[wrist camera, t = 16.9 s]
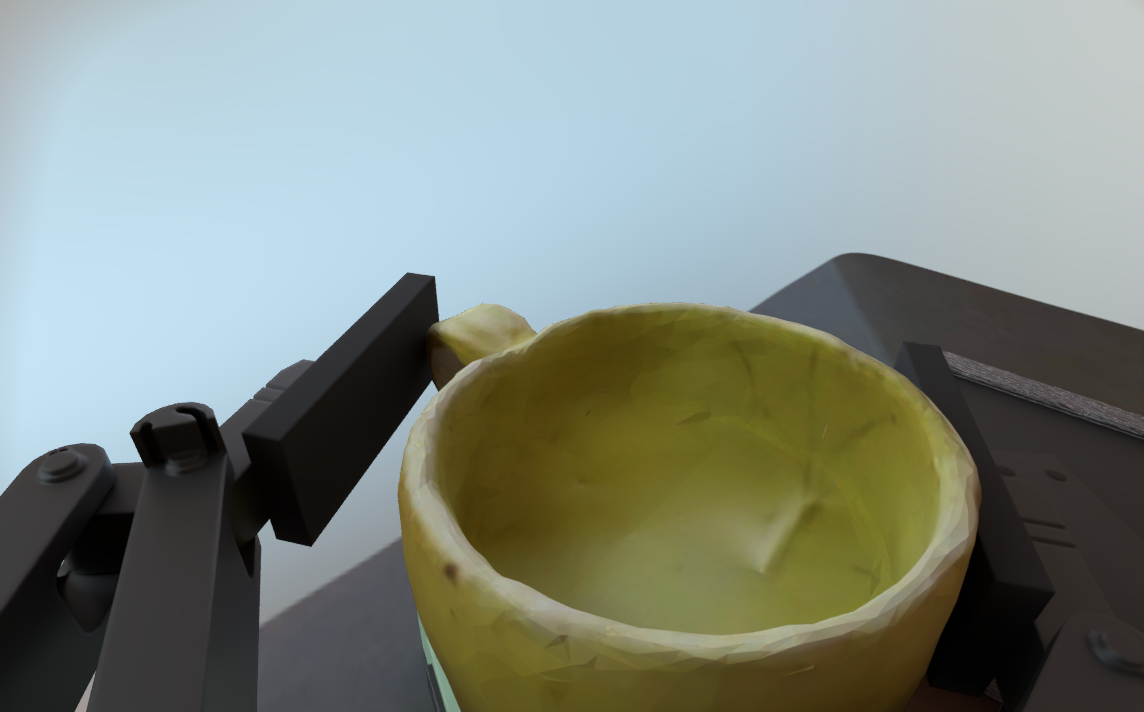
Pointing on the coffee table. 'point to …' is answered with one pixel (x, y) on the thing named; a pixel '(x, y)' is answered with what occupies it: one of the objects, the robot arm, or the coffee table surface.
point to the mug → (679, 515)
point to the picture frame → (1070, 470)
